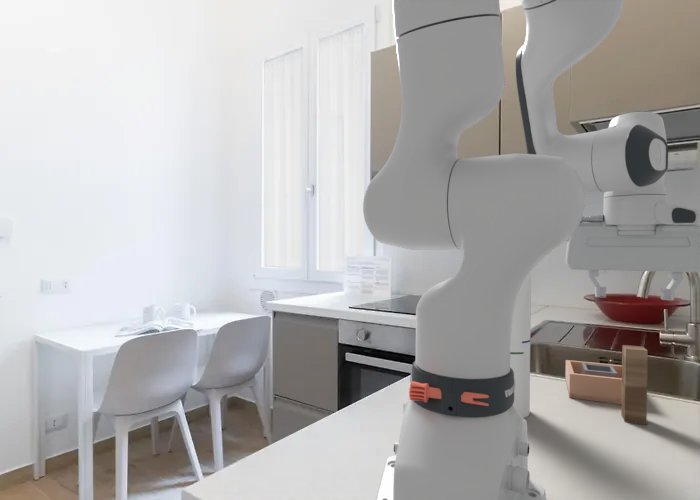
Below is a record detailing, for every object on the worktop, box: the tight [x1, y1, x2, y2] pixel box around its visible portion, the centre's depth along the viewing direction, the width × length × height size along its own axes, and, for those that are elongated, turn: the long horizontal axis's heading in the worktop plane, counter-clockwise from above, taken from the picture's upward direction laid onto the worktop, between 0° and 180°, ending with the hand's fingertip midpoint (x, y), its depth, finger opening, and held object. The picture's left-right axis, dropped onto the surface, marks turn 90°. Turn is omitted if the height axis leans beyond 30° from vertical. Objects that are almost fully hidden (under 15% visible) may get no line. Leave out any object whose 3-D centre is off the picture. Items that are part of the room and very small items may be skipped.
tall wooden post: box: [620, 344, 648, 426], centre depth 72 cm, size 3×3×12 cm
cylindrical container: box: [510, 271, 532, 419], centre depth 76 cm, size 7×7×25 cm
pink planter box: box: [564, 359, 622, 405], centre depth 86 cm, size 11×11×5 cm
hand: (632, 298), depth 72 cm, fingers open, 8 cm apart
